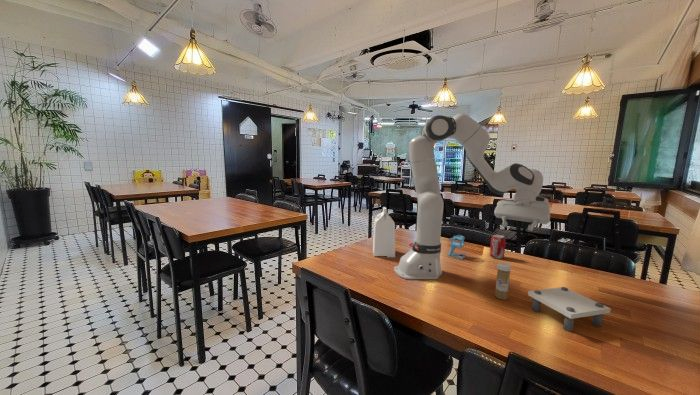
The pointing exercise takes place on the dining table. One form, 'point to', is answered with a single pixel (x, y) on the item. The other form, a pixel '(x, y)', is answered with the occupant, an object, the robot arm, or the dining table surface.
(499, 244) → the soda can
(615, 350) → the dining table surface
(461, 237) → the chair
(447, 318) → the dining table surface
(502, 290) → the sprinkles bottle
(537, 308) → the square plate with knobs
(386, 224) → the milk
